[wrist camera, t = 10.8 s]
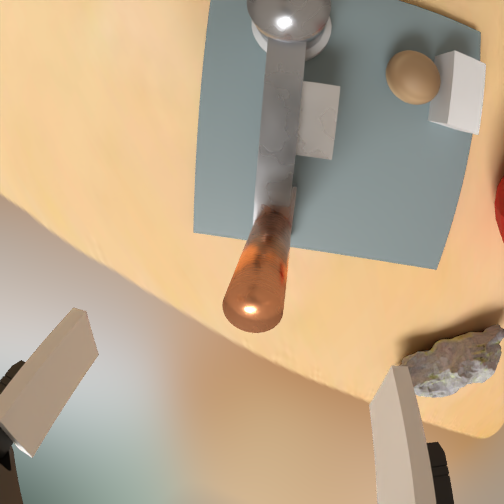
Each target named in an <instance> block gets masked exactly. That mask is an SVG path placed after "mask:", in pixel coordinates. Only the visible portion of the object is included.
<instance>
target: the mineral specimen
mask: <svg viewBox="0 0 504 504" xmlns="http://www.w3.org/2000/svg"><path fill="white" fill-rule="evenodd" d="M503 338H504V329H503V328H501V327H500V325H498V324H497V325H493V326H490V327H488V328H486V329H485V330H484V332H478V333H477V332H468V333H466V334H463V335H460V336H456V337H454V338H453V339H441V340H439V341H437V342H435V344H434V345H433V348H431V350H429V351H427V350H426V351H422V352H420V351H419V352H416V353H415V354H412V355H408V356H407V357H404V358H403V360H402V364H401V365H399V366H408V369H409V373H410V376H411V380H412V384H413V387H414V391H415V394H416V395H418V396H425V397H444V396H449V395H451V394H454V393H456V392H457V391H458V390H459V388H461V387H464V386H465V385H466V384H471V383H483V382H485V381H486V380H487V379H489V378H490V377H491V376H492V375H493V374H494V372H495V370H496V367H497V364H498V362H499V359H500V356H501V346H500V345H499V343H500V342H501V340H502V339H503Z"/></svg>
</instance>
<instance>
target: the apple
mask: <svg viewBox="0 0 504 504" xmlns="http://www.w3.org/2000/svg"><path fill="white" fill-rule="evenodd" d="M495 215H496V221H497V224H498V228H499V231H500V234H501V236H502V239H503V242H504V176H503V178H502V180H501V181H500V183H499V185H498V187H497V192H496V198H495Z"/></svg>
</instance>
